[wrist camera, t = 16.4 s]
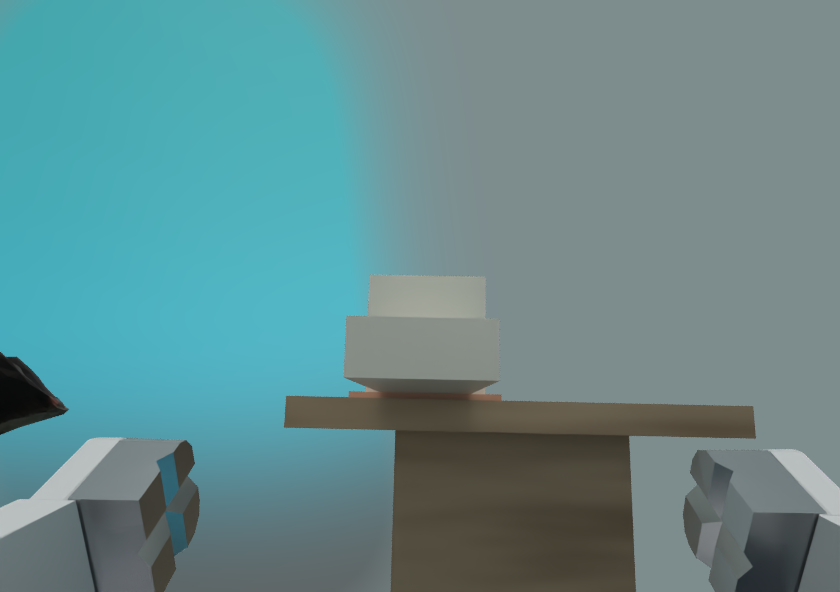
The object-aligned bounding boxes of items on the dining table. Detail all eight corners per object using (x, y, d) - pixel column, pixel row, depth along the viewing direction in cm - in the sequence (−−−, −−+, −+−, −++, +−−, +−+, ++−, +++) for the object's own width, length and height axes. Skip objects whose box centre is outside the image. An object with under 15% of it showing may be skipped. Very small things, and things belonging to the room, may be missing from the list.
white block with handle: (525, 381, 11) (523, 184, 12) (317, 376, 12) (328, 181, 12) (472, 398, 26) (473, 307, 26) (379, 396, 26) (383, 305, 27)
